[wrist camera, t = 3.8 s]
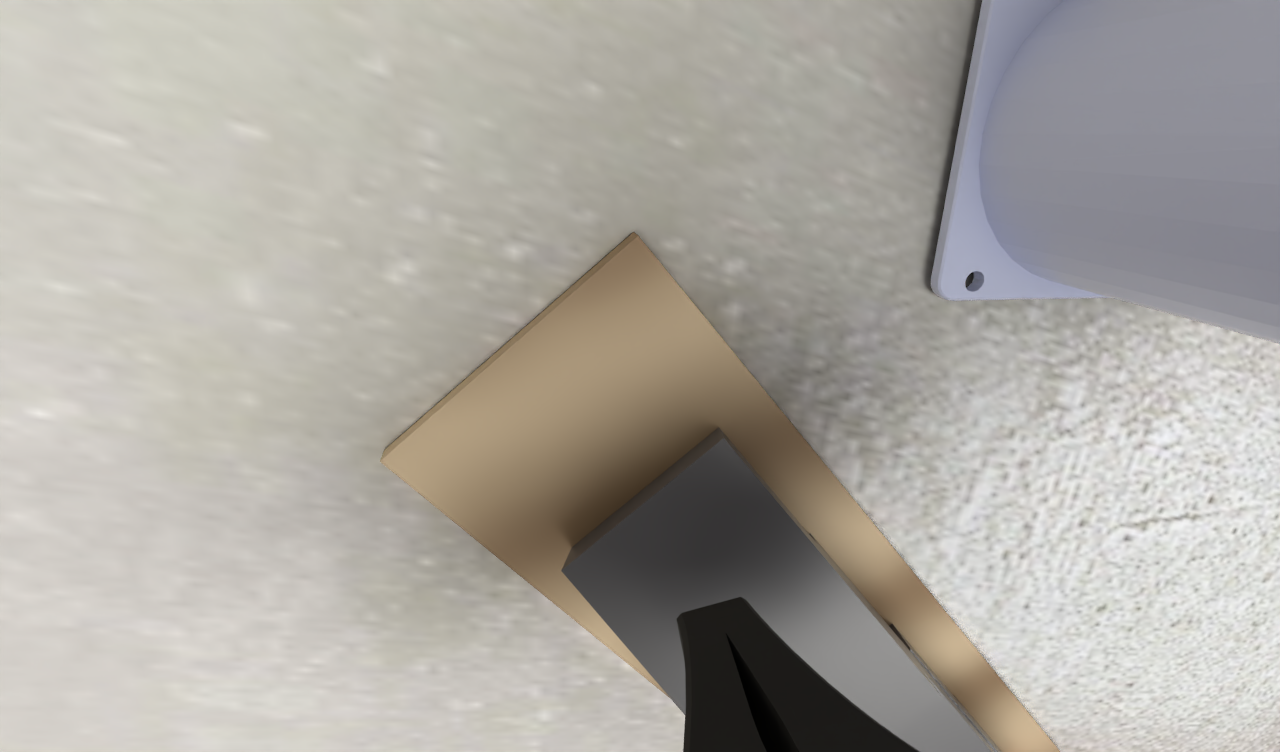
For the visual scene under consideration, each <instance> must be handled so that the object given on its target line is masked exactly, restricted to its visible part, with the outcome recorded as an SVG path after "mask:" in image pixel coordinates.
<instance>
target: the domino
mask: <svg viewBox="0 0 1280 752" xmlns="http://www.w3.org/2000/svg"><path fill="white" fill-rule="evenodd" d="M561 571H562V572H563V574H564V575H565V576H566V577H567V578H568V579H569V581H570V582H571V583H572V584H573V585H574V586H575V588H576V589H577V590H578V591H579V592H580V593H581V595H582V596H583V597H584V598H585V599H586V600H587V602H588V603H589V604H590V605H591V606H592V607H593V609H594V610H595V611H596V612H597V613H598V614H599V616H600V617H601V618H602V619H603V620H604V621H605V622H606V624H607V625H608V626H609V627H610V628H611V629H612V631H613V632H614V633H615V634H616V635H617V636H618V638H619V639H620V640H621V641H622V642H623V643H624V645H625V646H626V647H627V648H628V649H629V650H630V652H631V653H632V654H633V655H634V656H635V657H636V659H637V660H638V661H639V662H640V663H641V664H642V666H643V667H644V668H645V669H646V670H647V671H648V673H649V674H650V675H651V676H652V677H653V678H654V680H655V681H656V682H657V683H658V684H659V685H660V687H661V688H662V689H663V690H664V691H665V692H666V693H667V695H668V696H669V697H670V698H671V699H672V700H673V702H674V703H675V704H676V705H677V706H678V707H679V709H680V710H681V711H682V712H683V713H684V714H685V715H686V681H685V661H684V656H683V650H682V645H681V640H680V635H679V630H678V625H677V620H676V619H677V618H678V616H679V615H680V614H681V613H683V612H686V611H690V610H694V609H697V608H701V607H705V606H708V605H712V604H716V603H719V602H723V601H727V600H730V599H734V598H738V597H742V598H744V599H746V600H747V601H748V603H749V604H750V605H751V606H752V607H753V609H754V610H755V611H756V612H757V613H758V614H759V615H760V617H761V618H762V619H763V620H764V621H765V622H766V623H767V624H768V625H769V626H770V627H771V628H772V630H773V631H774V632H775V633H776V634H777V635H778V636H779V637H780V638H781V639H782V640H783V641H784V642H785V643H786V644H787V645H788V646H789V647H790V648H791V649H792V650H793V651H794V652H795V653H796V654H798V655H799V656H800V657H801V658H802V659H803V660H804V661H805V662H806V663H807V664H808V665H809V666H811V667H812V668H813V669H814V670H815V671H816V672H817V673H818V674H819V675H820V676H821V677H823V678H824V679H825V680H826V681H827V682H828V683H829V684H831V685H832V686H833V687H834V688H835V689H837V690H838V691H839V692H840V693H841V694H843V695H844V696H845V697H846V698H847V699H849V700H850V701H851V702H852V703H854V704H855V705H856V706H857V707H859V708H860V709H861V710H862V711H864V712H865V713H866V714H868V715H869V716H870V717H871V718H873V719H874V720H875V721H877V722H878V723H879V724H881V725H882V726H884V727H885V728H886V729H888V730H889V731H891V732H892V733H893V734H894V733H895V732H896V731H898V730H899V729H900V728H902V727H903V726H904V725H906V724H907V723H909V722H910V721H911V720H913V719H914V718H915V717H917V716H918V715H919V714H921V713H922V712H923V711H925V710H926V709H927V708H929V707H930V706H932V705H933V704H934V703H936V702H937V701H938V700H940V699H941V698H942V696H941V695H940V694H939V692H938V691H937V689H936V688H935V687H934V685H933V684H932V682H931V681H930V680H929V678H928V677H927V676H926V674H925V673H924V671H923V670H922V669H921V667H920V666H919V664H918V663H917V662H916V660H915V659H914V658H913V657H912V656H911V655H910V653H909V652H908V651H907V650H906V649H905V647H904V646H903V645H902V644H901V643H900V641H899V640H898V639H897V638H896V637H895V636H894V634H893V633H892V632H891V631H890V630H889V628H888V627H887V626H886V625H885V624H884V622H883V621H882V620H881V619H880V618H879V617H878V615H877V614H876V613H875V612H874V611H873V609H872V608H871V607H870V606H869V605H868V604H867V602H866V601H865V600H864V599H863V598H862V596H861V595H860V594H859V593H858V592H857V590H856V589H855V588H854V587H853V586H852V585H851V583H850V582H849V581H848V580H847V579H846V577H845V576H844V575H843V574H842V573H841V571H840V570H839V569H838V568H837V567H836V566H835V564H834V563H833V562H832V561H831V560H830V558H829V557H828V556H827V555H826V554H825V552H824V551H823V550H822V549H821V548H820V547H819V545H818V544H817V543H816V542H815V541H814V539H813V538H812V537H811V536H810V535H809V533H808V532H807V531H806V530H805V529H804V528H803V526H802V525H801V524H800V523H799V522H798V520H797V519H796V518H795V517H794V516H793V514H792V513H791V512H790V511H789V510H788V509H787V507H786V506H785V505H784V504H783V503H782V501H781V500H780V499H779V498H778V497H777V495H776V494H775V493H774V492H773V491H772V490H771V488H770V487H769V486H768V485H767V484H766V482H765V481H764V480H763V479H762V478H761V476H760V475H759V474H758V473H757V472H756V471H755V469H754V468H753V467H752V466H751V465H750V463H749V462H748V461H747V460H746V459H745V458H744V456H743V455H742V454H741V453H740V452H739V450H738V449H737V448H736V447H735V446H734V444H733V443H732V442H731V441H730V440H729V439H728V437H727V436H726V435H725V434H724V433H723V431H722V430H721V429H720V428H719V427H718V428H717V429H716V430H715V431H713V432H712V433H711V434H710V435H709V436H707V437H706V438H705V439H704V440H702V441H701V442H700V443H699V444H698V445H696V446H695V447H694V448H693V449H691V450H690V451H689V452H688V453H687V454H685V455H684V456H683V457H682V458H680V459H679V460H678V461H677V462H676V463H674V464H673V465H672V466H671V467H669V468H668V469H667V470H666V471H665V472H663V473H662V474H661V475H660V476H658V477H657V478H656V479H655V480H654V481H652V482H651V483H650V484H649V485H647V486H646V487H645V488H644V489H643V490H641V491H640V492H639V493H638V494H636V495H635V496H634V497H633V498H632V499H630V500H629V501H628V502H627V503H625V504H624V505H623V506H622V507H621V508H619V509H618V510H617V511H616V512H614V513H613V514H612V515H611V516H610V517H608V518H607V519H606V520H605V521H603V522H602V523H601V524H600V525H599V526H597V527H596V528H595V529H594V530H592V531H591V532H590V533H589V534H588V535H586V536H585V537H584V538H583V539H581V540H580V541H579V542H578V543H577V544H575V545H574V546H573V547H572V548H571V550H570V552H569V554H568V557H567V559H566V561H565V563H564V565H563V568H562V570H561Z"/></svg>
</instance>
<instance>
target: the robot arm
mask: <svg viewBox="0 0 1280 752" xmlns="http://www.w3.org/2000/svg"><path fill="white" fill-rule="evenodd" d="M972 272H973V273H974V279H973V281H972V283H971V284H970V285H969V286H968V287H965V281H966V279H967V276H968V275H969V274H971V273H972ZM931 288H932V290H933V292H934V293H935V294H936V295H937V296H938V297H941V298H944V299H947V300H952V301H955V300H1009V299H1063V298H1114V299H1118V300H1122V301H1125V302H1129V303H1133V304H1136V305H1140V306H1144V307H1147V308H1151V309H1155V310H1158V311H1162V312H1166V313H1169V314H1173V315H1176V316H1180V317H1184V318H1187V319H1191V320H1195V321H1198V322H1202V323H1206V324H1209V325H1213V326H1217V327H1220V328H1224V329H1228V330H1231V331H1235V332H1238V333H1242V334H1246V335H1249V336H1253V337H1257V338H1260V339H1264V340H1268V341H1271V342H1275V343H1279V344H1280V0H982V5H981V10H980V15H979V21H978V26H977V32H976V37H975V43H974V48H973V53H972V59H971V64H970V70H969V75H968V81H967V86H966V91H965V97H964V102H963V108H962V113H961V119H960V124H959V129H958V135H957V140H956V146H955V151H954V156H953V162H952V167H951V173H950V178H949V184H948V189H947V194H946V200H945V205H944V211H943V216H942V222H941V227H940V232H939V238H938V243H937V249H936V254H935V260H934V265H933V270H932V276H931ZM676 620H677V625H678V630H679V635H680V640H681V645H682V650H683V656H684V661H685V681H686V715H685V733H684V750H683V752H920V751H918V750H917V749H915V748H914V747H912V746H911V745H909V744H908V743H906V742H905V741H903V740H902V739H900V738H899V737H898V736H896V735H895V734H893V733H892V732H891V731H889V730H888V729H886V728H885V727H884V726H882V725H881V724H879V723H878V722H877V721H875V720H874V719H873V718H871V717H870V716H869V715H868V714H866V713H865V712H864V711H862V710H861V709H860V708H859V707H857V706H856V705H855V704H854V703H852V702H851V701H850V700H849V699H847V698H846V697H845V696H844V695H843V694H841V693H840V692H839V691H838V690H837V689H835V688H834V687H833V686H832V685H831V684H829V683H828V682H827V681H826V680H825V679H824V678H823V677H821V676H820V675H819V674H818V673H817V672H816V671H815V670H814V669H813V668H812V667H811V666H809V665H808V664H807V663H806V662H805V661H804V660H803V659H802V658H801V657H800V656H799V655H798V654H796V653H795V652H794V651H793V650H792V649H791V648H790V647H789V646H788V645H787V644H786V643H785V642H784V641H783V640H782V639H781V638H780V637H779V636H778V635H777V634H776V633H775V632H774V631H773V630H772V628H771V627H770V626H769V625H768V624H767V623H766V622H765V621H764V620H763V619H762V618H761V617H760V615H759V614H758V613H757V612H756V611H755V610H754V609H753V607H752V606H751V605H750V604H749V603H748V601H747V600H746V599H744V598H742V597H738V598H734V599H730V600H727V601H723V602H719V603H716V604H712V605H708V606H705V607H701V608H697V609H694V610H690V611H686V612H683V613H681V614H680V615H679V616H678V618H677V619H676Z"/></svg>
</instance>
